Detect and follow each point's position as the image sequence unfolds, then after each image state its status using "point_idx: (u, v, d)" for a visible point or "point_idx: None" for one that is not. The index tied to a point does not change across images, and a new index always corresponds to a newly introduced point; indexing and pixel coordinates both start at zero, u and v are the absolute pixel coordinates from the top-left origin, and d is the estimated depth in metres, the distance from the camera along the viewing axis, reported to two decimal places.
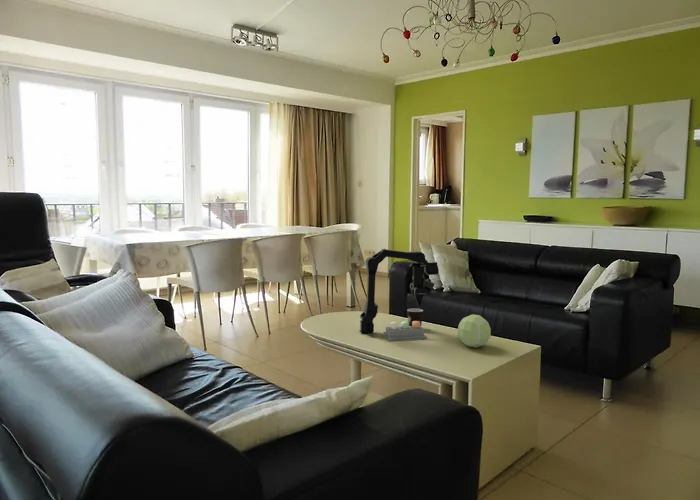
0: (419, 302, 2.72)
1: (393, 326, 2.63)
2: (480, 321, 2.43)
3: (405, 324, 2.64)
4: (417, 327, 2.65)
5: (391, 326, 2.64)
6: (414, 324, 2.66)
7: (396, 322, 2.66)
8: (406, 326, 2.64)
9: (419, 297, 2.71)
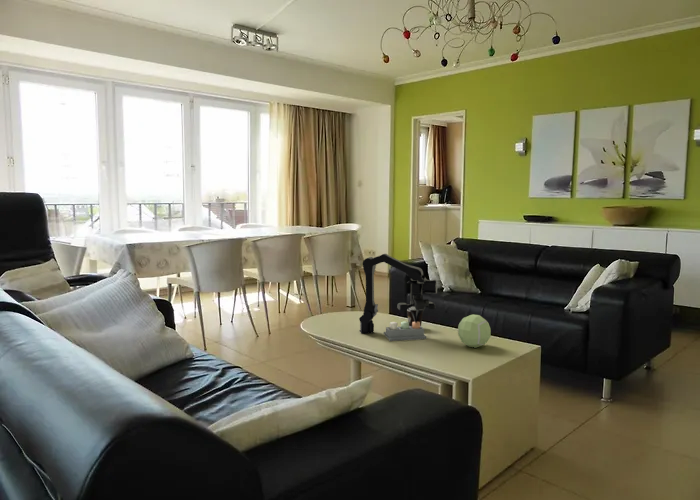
0: (414, 318, 2.67)
1: (393, 326, 2.63)
2: (480, 321, 2.43)
3: (405, 324, 2.64)
4: (417, 328, 2.65)
5: (391, 326, 2.64)
6: (414, 325, 2.66)
7: (396, 322, 2.66)
8: (406, 326, 2.64)
9: (413, 313, 2.67)
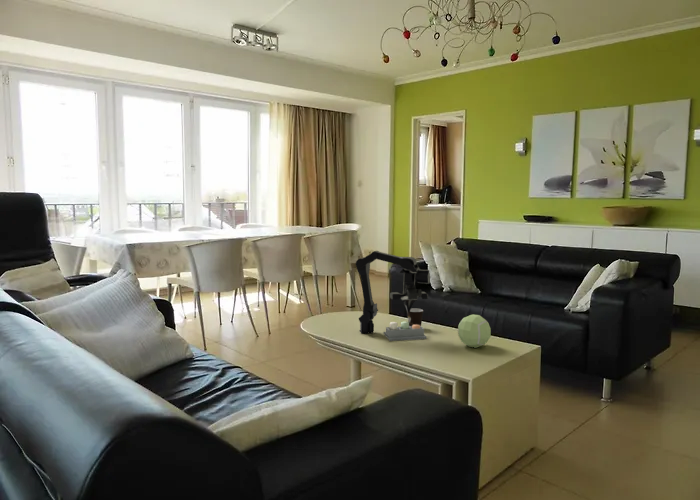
0: (406, 308, 2.66)
1: (393, 326, 2.63)
2: (480, 321, 2.43)
3: (405, 324, 2.64)
4: None
5: (391, 326, 2.64)
6: (414, 328, 2.66)
7: (396, 322, 2.66)
8: (406, 326, 2.64)
9: (405, 303, 2.65)
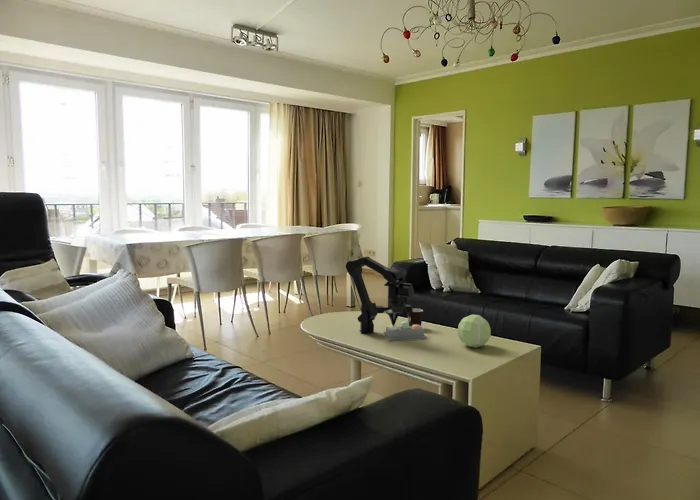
0: (391, 321, 2.65)
1: (393, 329, 2.63)
2: (480, 321, 2.43)
3: (405, 324, 2.64)
4: None
5: (391, 329, 2.64)
6: (414, 328, 2.66)
7: (396, 325, 2.66)
8: (406, 326, 2.64)
9: None
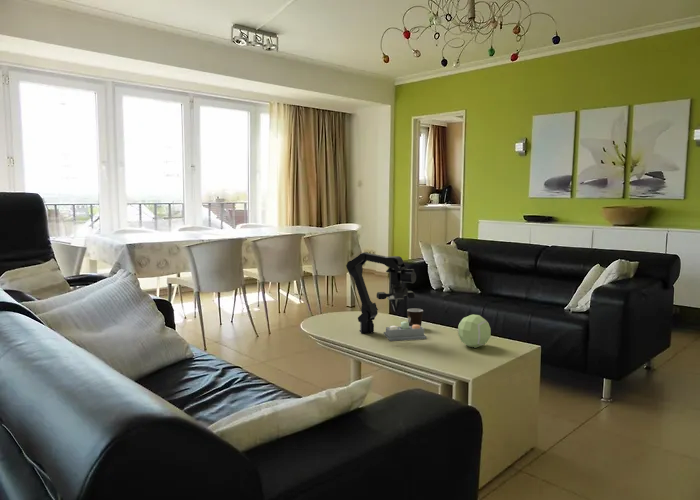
0: None
1: None
2: (480, 321, 2.43)
3: (405, 324, 2.64)
4: None
5: None
6: (414, 328, 2.66)
7: (396, 326, 2.66)
8: (406, 326, 2.64)
9: None
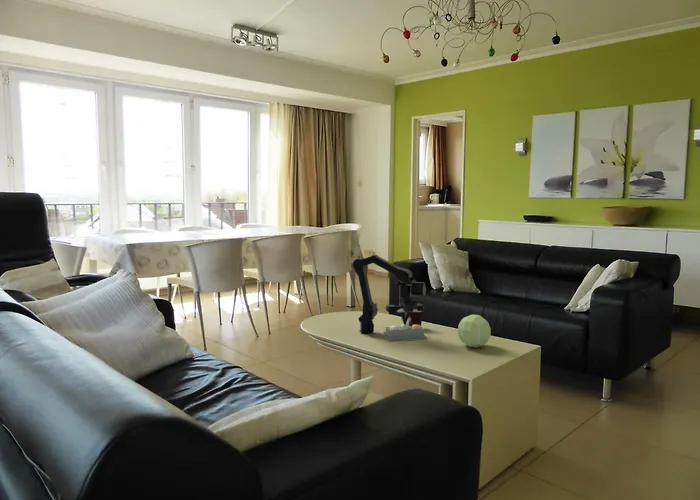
0: (402, 320, 2.66)
1: None
2: (480, 321, 2.43)
3: (405, 326, 2.64)
4: None
5: None
6: (414, 328, 2.66)
7: (396, 326, 2.66)
8: (406, 328, 2.64)
9: (402, 315, 2.66)
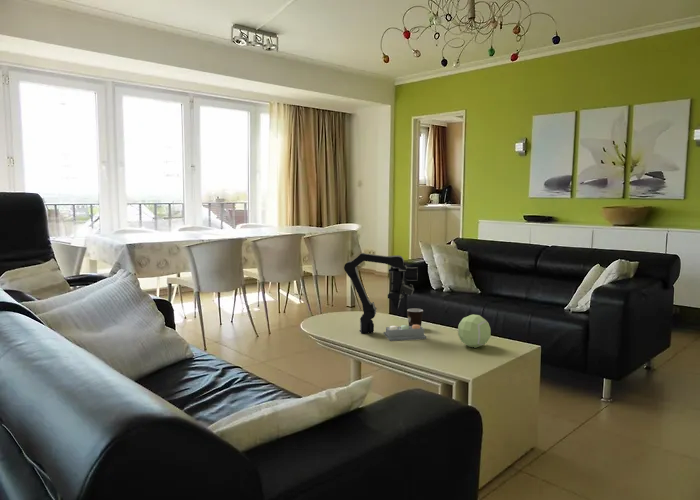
0: (396, 306, 2.71)
1: None
2: (480, 321, 2.43)
3: (405, 327, 2.64)
4: None
5: None
6: (414, 328, 2.66)
7: (396, 326, 2.66)
8: None
9: (396, 301, 2.70)
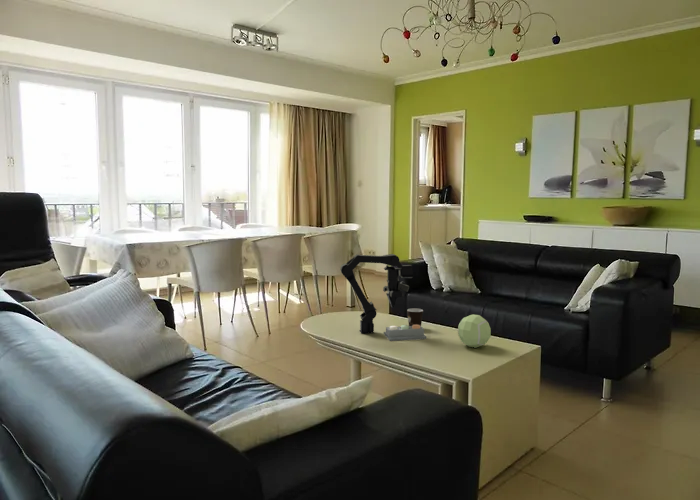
0: (393, 304, 2.74)
1: None
2: (480, 321, 2.43)
3: (405, 327, 2.64)
4: None
5: None
6: (414, 328, 2.66)
7: (396, 326, 2.66)
8: None
9: (393, 299, 2.74)
